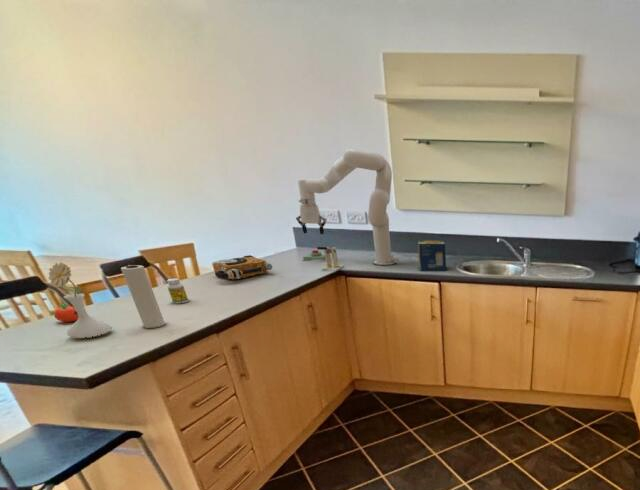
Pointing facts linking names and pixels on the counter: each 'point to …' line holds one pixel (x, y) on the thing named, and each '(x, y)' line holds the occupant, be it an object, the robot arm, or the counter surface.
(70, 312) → the tomato
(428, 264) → the protein box
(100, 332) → the flower in vase
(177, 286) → the supplement bottle
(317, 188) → the robot arm
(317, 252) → the button
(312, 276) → the counter surface
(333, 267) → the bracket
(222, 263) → the device
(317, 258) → the button box
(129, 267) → the paper towel roll
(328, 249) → the lever
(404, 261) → the counter surface
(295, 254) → the counter surface
